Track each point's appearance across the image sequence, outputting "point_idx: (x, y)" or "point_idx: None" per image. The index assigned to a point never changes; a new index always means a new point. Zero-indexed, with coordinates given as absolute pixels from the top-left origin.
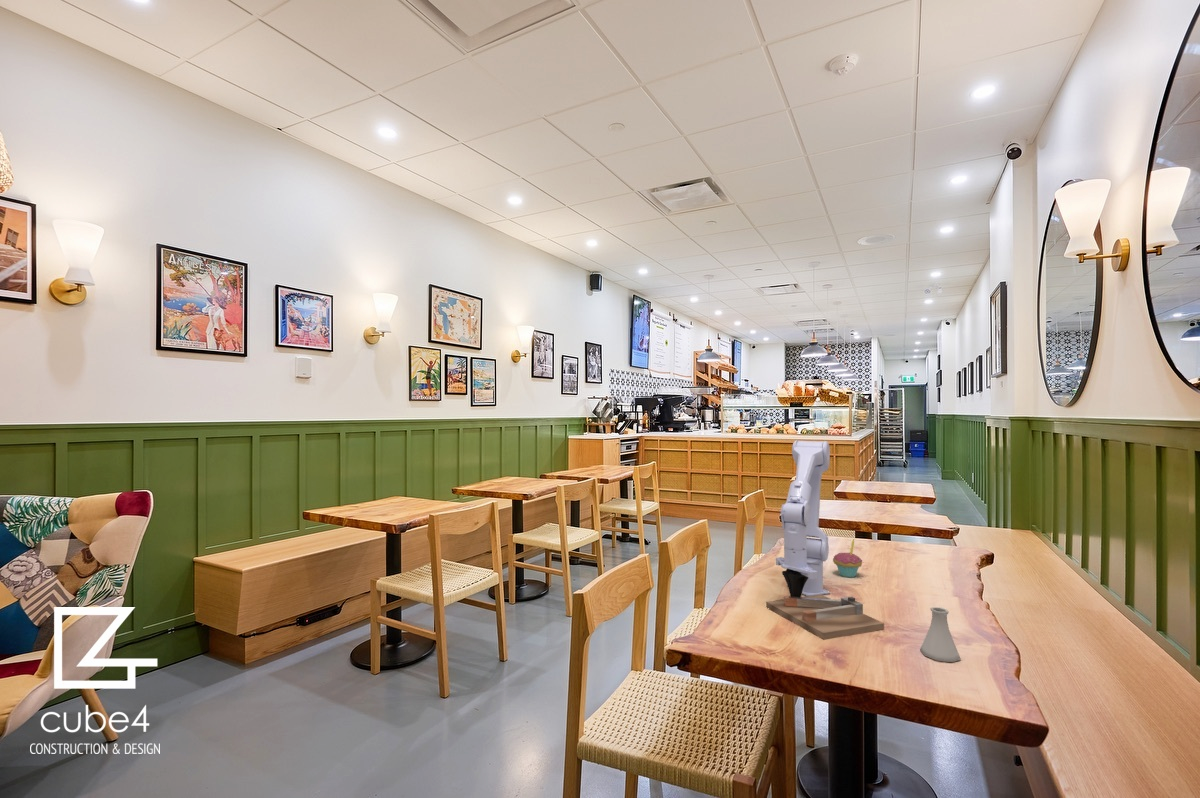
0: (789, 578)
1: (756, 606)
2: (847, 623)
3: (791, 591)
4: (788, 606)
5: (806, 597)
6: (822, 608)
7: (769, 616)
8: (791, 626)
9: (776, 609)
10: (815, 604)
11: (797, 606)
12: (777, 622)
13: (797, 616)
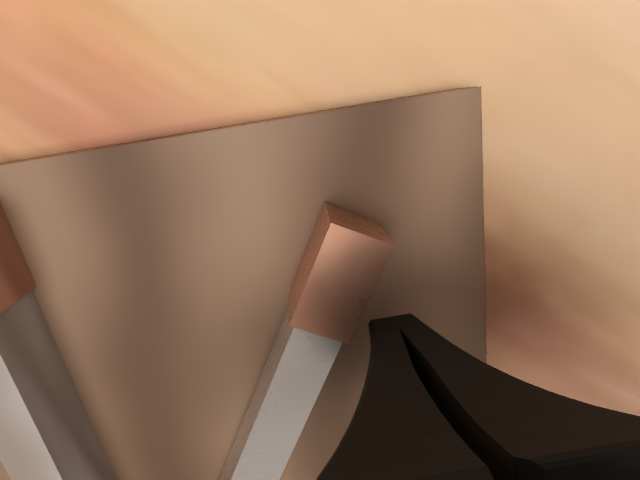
0: (437, 437)
1: (507, 7)
2: None
3: (404, 345)
4: None
5: None
6: None
7: (255, 6)
8: (14, 89)
9: (318, 112)
10: (244, 426)
11: None
12: (107, 7)
13: (74, 191)
